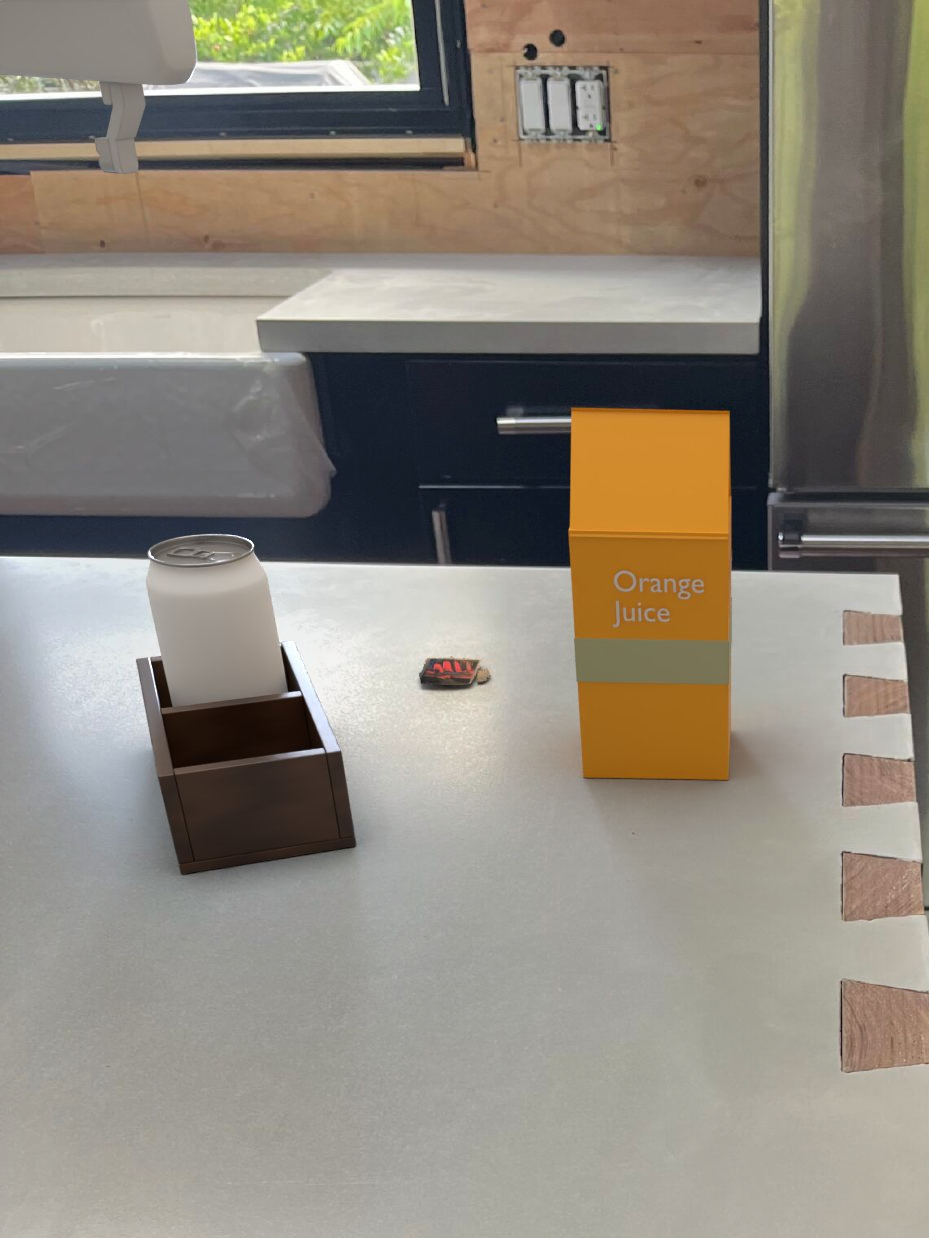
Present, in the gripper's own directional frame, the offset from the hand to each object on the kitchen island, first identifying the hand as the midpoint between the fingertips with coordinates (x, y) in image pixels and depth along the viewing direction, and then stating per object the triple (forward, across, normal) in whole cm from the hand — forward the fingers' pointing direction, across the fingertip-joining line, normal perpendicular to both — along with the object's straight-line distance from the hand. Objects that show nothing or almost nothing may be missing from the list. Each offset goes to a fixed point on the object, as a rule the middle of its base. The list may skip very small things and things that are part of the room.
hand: (50, 167), depth 89 cm
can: (+28, +17, -17) cm, 37 cm away
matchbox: (+29, +24, 0) cm, 37 cm away
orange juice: (+28, +41, -8) cm, 50 cm away
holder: (+29, +20, -20) cm, 40 cm away
